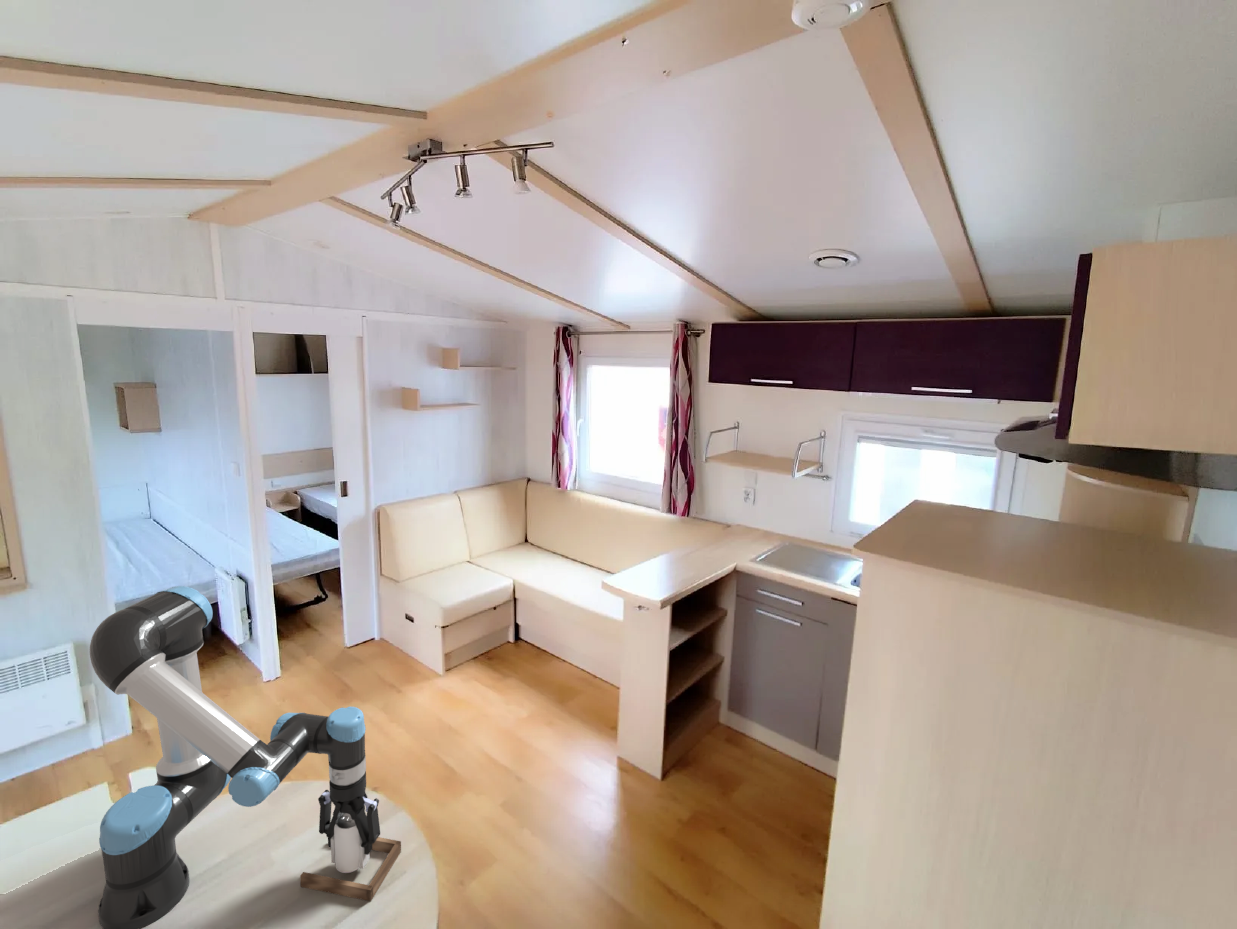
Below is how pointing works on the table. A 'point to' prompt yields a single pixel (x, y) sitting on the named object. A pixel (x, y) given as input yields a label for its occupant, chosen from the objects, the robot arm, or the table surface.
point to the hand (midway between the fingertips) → (350, 860)
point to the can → (346, 844)
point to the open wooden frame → (351, 887)
